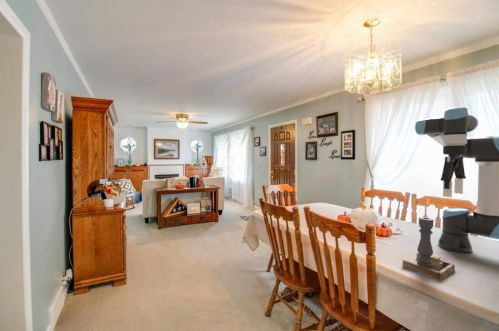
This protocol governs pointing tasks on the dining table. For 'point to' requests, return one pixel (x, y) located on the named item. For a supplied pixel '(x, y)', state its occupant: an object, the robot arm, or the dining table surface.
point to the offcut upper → (435, 259)
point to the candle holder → (425, 242)
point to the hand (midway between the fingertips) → (453, 195)
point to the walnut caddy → (435, 274)
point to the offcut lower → (437, 266)
